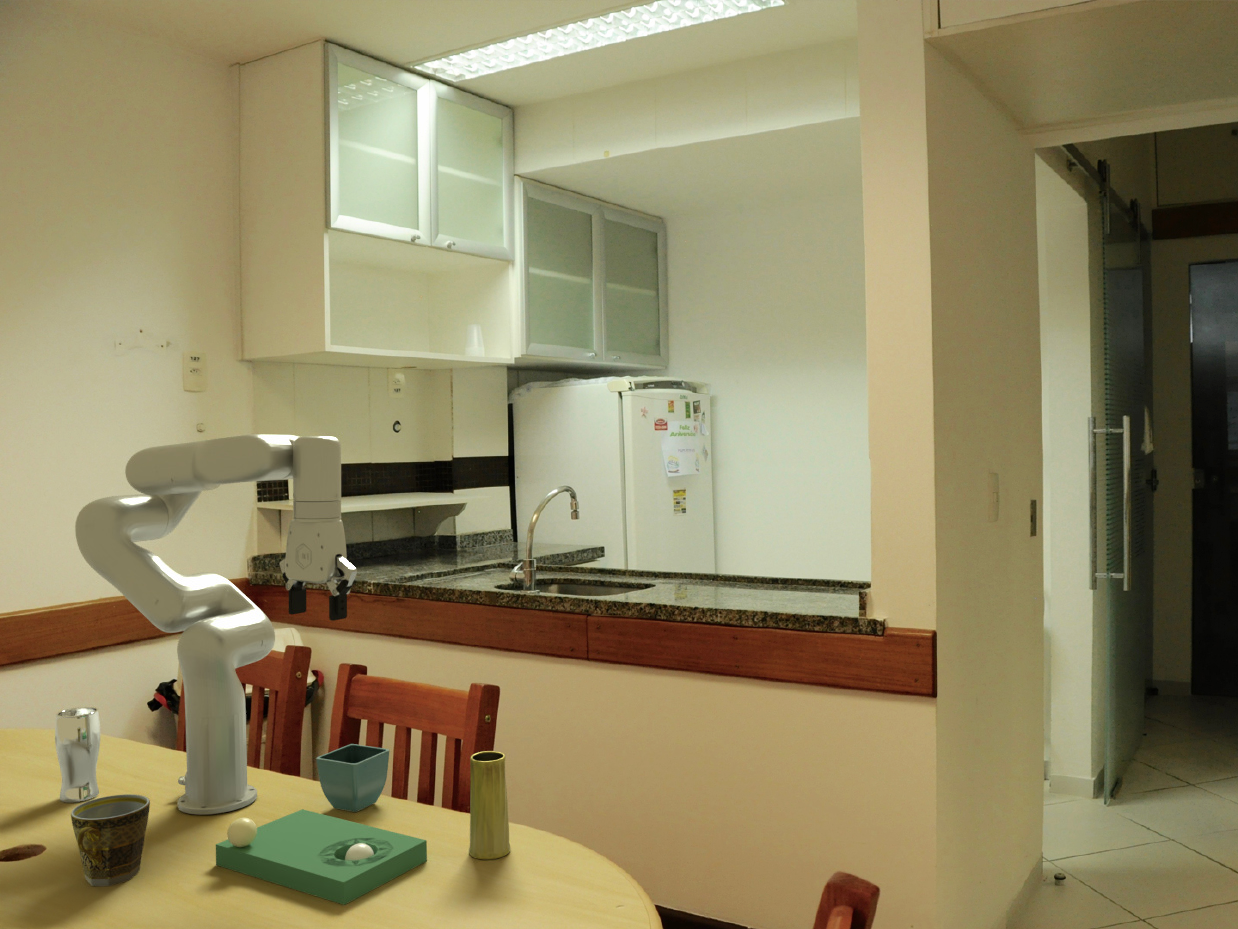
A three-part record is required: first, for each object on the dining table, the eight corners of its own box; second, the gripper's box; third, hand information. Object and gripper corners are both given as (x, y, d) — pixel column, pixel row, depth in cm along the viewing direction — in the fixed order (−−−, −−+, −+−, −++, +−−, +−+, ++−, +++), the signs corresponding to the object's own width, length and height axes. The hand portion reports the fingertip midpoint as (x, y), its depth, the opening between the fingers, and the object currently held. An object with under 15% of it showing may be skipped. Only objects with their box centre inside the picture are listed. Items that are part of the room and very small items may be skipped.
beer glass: (110, 794, 176) (108, 709, 176) (70, 806, 171) (68, 719, 170) (87, 787, 180) (85, 704, 180) (48, 799, 174) (46, 713, 174)
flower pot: (315, 811, 167) (314, 757, 167) (352, 794, 175) (351, 743, 175) (355, 819, 163) (354, 764, 163) (392, 802, 171) (391, 749, 170)
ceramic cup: (97, 862, 148) (95, 794, 147) (164, 861, 147) (162, 794, 147) (44, 902, 135) (42, 828, 134) (117, 902, 134) (115, 827, 134)
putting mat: (216, 865, 146) (215, 844, 146) (302, 828, 159) (302, 809, 159) (344, 905, 132) (343, 882, 132) (426, 861, 146) (426, 840, 146)
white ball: (339, 876, 141) (338, 847, 141) (360, 865, 145) (358, 837, 145) (360, 880, 139) (358, 850, 139) (381, 869, 142) (379, 841, 143)
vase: (477, 863, 145) (475, 765, 144) (463, 849, 150) (461, 754, 150) (516, 855, 148) (514, 758, 147) (501, 840, 153) (499, 747, 153)
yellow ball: (221, 848, 144) (220, 820, 144) (244, 838, 148) (244, 811, 148) (240, 853, 142) (239, 825, 142) (263, 844, 146) (262, 816, 145)
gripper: (263, 510, 165) (263, 614, 166) (336, 515, 156) (336, 625, 156) (300, 508, 172) (300, 608, 172) (372, 512, 162) (372, 618, 163)
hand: (317, 616), depth 164 cm, fingers open, 9 cm apart
